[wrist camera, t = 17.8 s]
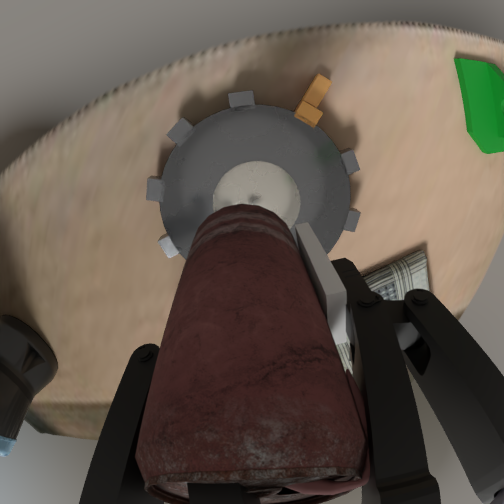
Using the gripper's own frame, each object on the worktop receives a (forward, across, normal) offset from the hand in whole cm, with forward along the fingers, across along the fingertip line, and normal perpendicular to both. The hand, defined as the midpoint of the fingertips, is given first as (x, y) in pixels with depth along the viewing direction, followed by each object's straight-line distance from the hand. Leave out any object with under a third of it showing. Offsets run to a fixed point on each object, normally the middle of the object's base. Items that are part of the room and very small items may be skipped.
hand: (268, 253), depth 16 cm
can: (+1, -1, 0) cm, 2 cm away
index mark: (+12, +7, +9) cm, 17 cm away
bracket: (+13, +30, +7) cm, 34 cm away
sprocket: (+10, 0, 0) cm, 10 cm away
